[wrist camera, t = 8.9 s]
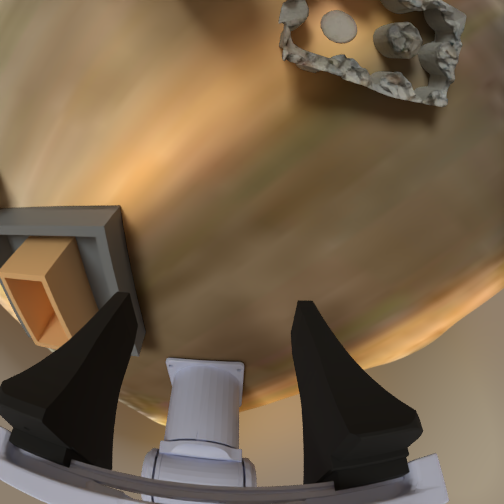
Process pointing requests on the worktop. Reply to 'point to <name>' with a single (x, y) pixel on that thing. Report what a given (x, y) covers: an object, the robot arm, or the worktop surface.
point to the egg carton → (385, 47)
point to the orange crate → (49, 288)
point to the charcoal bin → (89, 244)
